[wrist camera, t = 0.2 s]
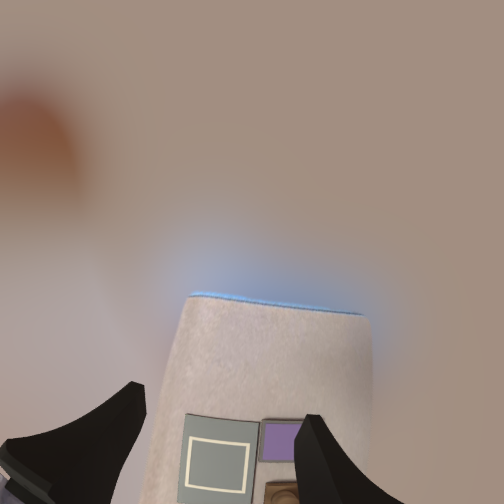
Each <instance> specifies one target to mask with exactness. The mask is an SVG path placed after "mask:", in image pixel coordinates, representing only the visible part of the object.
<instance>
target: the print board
mask: <svg viewBox="0 0 504 504" xmlns="http://www.w3.org/2000/svg"><path fill="white" fill-rule="evenodd" d="M258 425H259V423H255V422H242V421H232V420H223V419H215V418H207V417H200V416H194V415H188V414H185V422H184V431H183V440H182V449H181V460H180V471H179V482H178V496H177V502H178V503H184V504H251V496H252V487H253V477H254V467H255V457H256V447H257V436H258Z"/></svg>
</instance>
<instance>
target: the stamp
mask: <svg viewBox="0 0 504 504" xmlns="http://www.w3.org/2000/svg"><path fill="white" fill-rule="evenodd" d="M264 504H299V493H298V486H297V482H296V483H266V486H265V495H264Z"/></svg>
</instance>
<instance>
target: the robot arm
mask: <svg viewBox="0 0 504 504" xmlns="http://www.w3.org/2000/svg"><path fill="white" fill-rule="evenodd" d="M146 414H147V413H146V402H145V390H144V385H142V384H139V383H136V382H133V381H131V382H129V383H128V384H127V385H126V386H125V387H123V388H122V389H121V390H120V391H119V392H117V393H116V394H115V395H113V396H112V397H111V398H110V399H108V400H107V401H105V402H104V403H103V404H101V405H100V406H98V407H97V408H95V409H94V410H92V411H91V412H89V413H87V414H86V415H84V416H82V417H81V418H79V419H77V420H75V421H73V422H71V423H69V424H67V425H64V426H62V427H59V428H57V429H54V430H51V431H48V432H45V433H41V434H37V435H33V436H28V437H22V438H13V439H7V440H6V441H5V442H4V443H3V445H2V446H1V447H0V466H1V467H2V468H3V469H4V470H5V471H6V473H7V474H8V475H9V476H10V477H11V478H10V479H9V481H8V480H7V479H6V478H5V477H4V476H3V475H2V474H1V473H0V504H110V503H111V499H112V496H113V493H114V489H115V486H116V483H117V480H118V477H119V474H120V471H121V469H122V467H123V465H124V463H125V461H126V459H127V457H128V455H129V453H130V451H131V449H132V447H133V445H134V443H135V441H136V439H137V437H138V435H139V433H140V431H141V428H142V426H143V423H144V420H145V417H146ZM294 463H295V471H296V478H297V486H298V493H299V504H404V503H402V502H400V501H398V500H397V499H395V498H393V497H392V496H390V495H388V494H387V493H386V492H384V491H383V490H382V489H380V488H379V487H378V486H377V485H375V484H374V483H373V482H372V481H370V480H369V479H368V478H367V477H366V476H365V475H364V474H363V473H362V472H361V471H360V470H359V469H358V468H357V467H356V466H355V464H354V463H353V462H352V461H351V460H350V458H349V457H348V456H347V455H346V453H345V452H344V451H343V449H342V448H341V447H340V445H339V444H338V442H337V441H336V439H335V438H334V436H333V435H332V433H331V432H330V430H329V429H328V427H327V425H326V424H325V422H324V421H323V419H322V417H321V416H320V415H312V414H307V415H306V417H305V419H304V421H303V423H302V425H301V427H300V429H299V431H298V433H297V435H296V437H295V439H294Z"/></svg>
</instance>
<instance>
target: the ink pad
mask: <svg viewBox="0 0 504 504" xmlns="http://www.w3.org/2000/svg"><path fill="white" fill-rule="evenodd" d="M302 423H303V421H275V420H262V425H261V436H260V447H259V457H258V461H259V462H269V463H294V439H295V437H296V435H297V433H298V431H299V429H300V427H301V425H302Z"/></svg>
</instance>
